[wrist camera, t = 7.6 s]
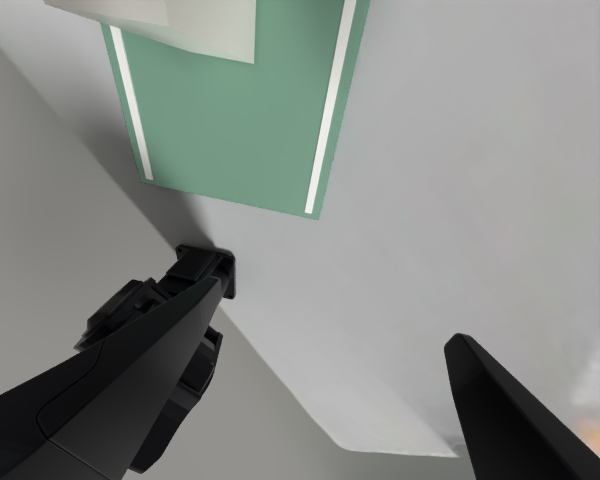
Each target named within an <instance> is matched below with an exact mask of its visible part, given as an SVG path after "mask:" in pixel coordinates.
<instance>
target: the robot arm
mask: <svg viewBox="0 0 600 480" xmlns="http://www.w3.org/2000/svg"><path fill="white" fill-rule="evenodd" d="M176 254H177V259H178V261H177V262H176V263H175V264H174V265H173V266H172V267H171V268H170V269H169V270H168V271H167V272H166V275H165V276H164V277H163V278H162V279H161V280H160V281H159V282H158V283H156V282H155V280H154V279H153V278H151V277H150V278H149V279H147V280H146V281H144V282H142V281H137V280H131V281H130V282H128V283H127V284H126V285H125V286H124V287H123V288H121V289H120V290H119V291H118V292H117V293H116V294H115V295H114V296H112V297H111V298H110V299H109V300H108V301H107V302H106V303H105V304H104V305H103V306H101V307H100V308H99V309H98V310H97V311H96V312H95V313H94V314H93V315H92V316H91V317H90V318H89V319H88V320H87V330H86V331H85V332H84V334H83V335H82V338H81V339H80V340H79V342H78V343H77V344H76V345H75V346H74V349H75V350H77V351H79V352H80V353H78V354H76V355H75V356H73V357H71V358H69V359H68V360H66V361H64V362H62V363H60V364H59V365H57V366H55V367H53V368H51V369H49V370H47V371H45V372H44V373H42V374H40V375H38V376H36V377H34V378H32V379H30V380H28V381H26V382H24V383H22V384H21V385H19V386H17V387H15V388H13V389H11V390H9V391H7V392H5V393H3V394H1V395H0V480H121V479H122V478H123V476H124V474H125V473H126V470H127V469H130V470H132V471H135V472H137V473H140V474H142V473H144V472H145V471H146V470H147V469H148V468H149V467H151V466H152V465H153V464H154V463H155V462H156V461H157V460H158V459H159V458H160V457H161V456H162V454H163V453H164V451H165V449H166V447H167V446H168V444H169V442H170V440H171V439H172V437H173V436H174V434H175V432H176V431H177V429H178V427H179V426H180V424H181V423H182V421H183V420H184V419H185V417H186V416H187V414H188V413H189V412H190V411H191V409H192V408H193V407H194V406H195V405H196V404H197V403H198V402H199V400H200V399H201V397H202V395H203V393H204V392H205V390H206V389H207V387H208V386H209V384H210V382H211V379H212V377H213V374H214V370H215V366H216V362H217V358H218V354H219V350H220V346H221V342H222V338H223V335H222V334H221V333H220V332H217V331H215V330H214V329H213V328H212V327H211V326H209V323H210V321H211V318H212V316H213V314H214V312H215V309H216V307H217V306H218V304H219V303H220V301H221V299H222V298H227V299H234V297H235V295H236V289H235V258H234V257H233V256H230V255H226V254H221V253H217V252H212V251H208V250H203V249H199V248H194V247H190V246H185V245H178V246H177V247H176ZM230 260H231V261H230ZM444 353H445V359H446V364H447V370H448V375H449V381H450V386H451V391H452V395H453V399H454V403H455V407H456V410H457V414H458V417H459V421H460V424H461V428H462V431H463V435H464V438H465V442H466V445H467V449H468V452H469V456H470V459H471V463H472V466H473V470H474V474H475V477H476V480H600V458H599V457H598V456H597V455H596V454H595V453H594V452H593V451H592V450H591V449H590V448H589V447H588V446H586V445H585V444H584V443H583V442H582V441H581V440H580V439H579V438H578V437H577V436H576V435H575V434H574V433H573V432H572V431H571V430H570V429H568V428H567V427H566V426H565V425H564V424H563V423H562V422H561V421H560V420H559V419H558V418H557V417H556V416H555V415H554V414H553V413H552V412H551V411H549V410H548V409H547V408H546V407H545V406H544V405H543V404H542V403H541V402H540V401H539V400H538V399H537V398H536V397H535V396H534V395H533V394H531V393H530V392H529V391H528V390H527V389H526V388H525V387H524V386H523V385H522V384H521V383H520V382H519V381H518V380H517V379H516V378H515V377H513V376H512V375H511V374H510V373H509V372H508V371H507V370H506V369H505V368H504V367H503V366H502V365H501V364H500V363H499V362H498V361H497V360H495V359H494V358H493V357H492V356H491V355H490V354H489V353H488V352H487V351H486V350H485V349H484V348H483V347H482V346H481V345H480V344H479V343H477V342H476V341H475V340H474V339H473V338H472V337H471V336H469V335H466V334H461V333H456V334H455V335H454V336H453V337H452V338H451V339H450V340H449V341H448V342H447V343H446V344H445V346H444Z"/></svg>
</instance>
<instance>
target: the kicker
mask: <svg viewBox="0 0 600 480" xmlns="http://www.w3.org/2000/svg"><path fill="white" fill-rule="evenodd" d="M44 2H45V4H47V5H50V6H53V7H56V8H59V9H62V10H65V11H68V12H71V13H74V14H77V15H80V16H83V17H86V18H89V19H92V20H95V21H98V22H101V23H104V24H107V25H110V26H113V27H116V28H119V29H123V30H126V31H129V32H132V33H135V34H138V35H141V36H144V37H147V38H150V39H153V40H156V41H159V42H162V43H165V44H168V45H171V46H174V47H177V48H180V49H183V50H186V51H189V52H193V53H199V54H204V55H209V56H215V57H220V58H225V59H231V60H236V61H241V62H246V63H252V64H254V49H255V18H256V0H44Z"/></svg>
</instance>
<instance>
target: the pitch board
mask: <svg viewBox="0 0 600 480" xmlns="http://www.w3.org/2000/svg"><path fill="white" fill-rule="evenodd" d="M369 4H370V0H256V18H255V49H254V64H252V63H246V62H241V61H236V60H231V59H225V58H220V57H215V56H209V55H204V54H199V53H193V52H189V51H186V50H183V49H180V48H177V47H174V46H171V45H168V44H165V43H162V42H159V41H156V40H153V39H150V38H147V37H144V36H141V35H138V34H135V33H132V32H129V31H126V30H123V29H119V28H116V27H113V26H110V25H107V24H104V23H101V22H100V24H101V28H102V32H103V36H104V40H105V44H106V47H107V51H108V55H109V59H110V63H111V67H112V71H113V75H114V79H115V83H116V87H117V91H118V95H119V99H120V103H121V106H122V110H123V114H124V118H125V122H126V126H127V130H128V134H129V138H130V142H131V146H132V150H133V154H134V158H135V162H136V165H137V169H138V173H139V177H140V181H141V182H142V183H146V184H151V185H156V186H160V187H165V188H170V189H174V190H179V191H184V192H189V193H193V194H198V195H203V196H207V197H212V198H217V199H221V200H226V201H231V202H235V203H240V204H245V205H249V206H254V207H259V208H263V209H268V210H273V211H278V212H282V213H287V214H292V215H296V216H301V217H306V218H310V219H315V220H319V217H320V212H321V208H322V204H323V200H324V195H325V191H326V187H327V182H328V178H329V174H330V170H331V165H332V161H333V157H334V153H335V148H336V144H337V140H338V136H339V131H340V127H341V123H342V119H343V114H344V110H345V106H346V102H347V97H348V93H349V89H350V84H351V80H352V76H353V72H354V67H355V63H356V59H357V55H358V50H359V46H360V42H361V38H362V33H363V29H364V25H365V21H366V16H367V12H368V8H369Z"/></svg>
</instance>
